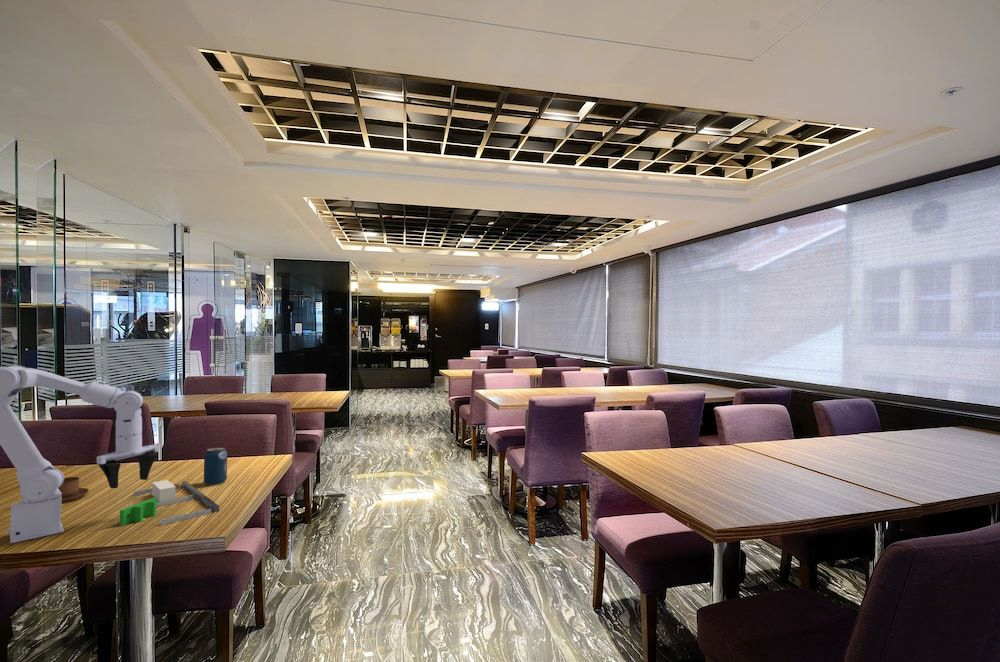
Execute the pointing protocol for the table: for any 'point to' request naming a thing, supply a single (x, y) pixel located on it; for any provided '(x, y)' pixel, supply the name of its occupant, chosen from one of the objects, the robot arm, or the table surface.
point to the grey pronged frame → (193, 491)
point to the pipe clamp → (138, 511)
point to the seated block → (163, 490)
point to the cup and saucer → (71, 489)
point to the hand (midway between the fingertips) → (129, 483)
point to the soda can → (215, 466)
